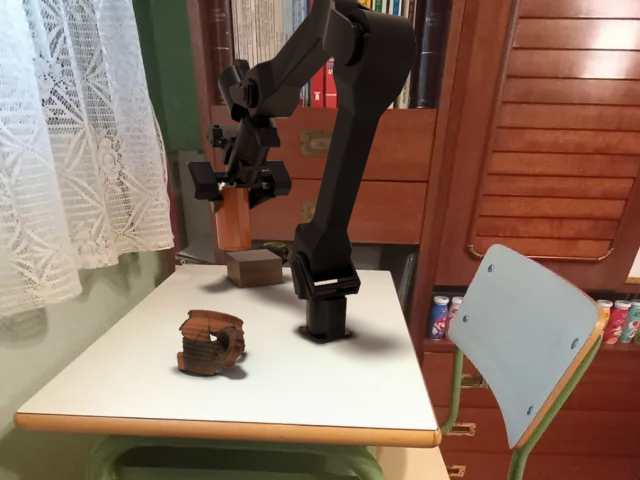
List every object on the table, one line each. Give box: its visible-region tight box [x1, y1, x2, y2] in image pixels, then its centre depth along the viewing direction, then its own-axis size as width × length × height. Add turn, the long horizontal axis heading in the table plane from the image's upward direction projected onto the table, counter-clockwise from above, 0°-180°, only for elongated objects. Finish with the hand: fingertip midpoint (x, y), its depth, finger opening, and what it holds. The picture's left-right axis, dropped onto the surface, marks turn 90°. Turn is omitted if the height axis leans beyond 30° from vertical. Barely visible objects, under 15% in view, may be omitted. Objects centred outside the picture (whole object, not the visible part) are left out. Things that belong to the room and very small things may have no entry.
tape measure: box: [256, 241, 290, 262], centre depth 114 cm, size 7×7×4 cm
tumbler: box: [215, 187, 252, 252], centre depth 92 cm, size 6×6×12 cm
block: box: [225, 249, 283, 289], centre depth 99 cm, size 9×9×5 cm
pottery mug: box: [176, 309, 246, 376], centre depth 64 cm, size 12×10×8 cm
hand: (229, 210), depth 93 cm, fingers closed on tumbler, 6 cm apart
